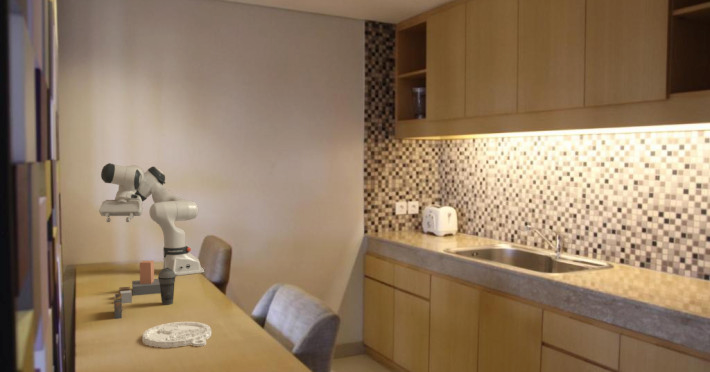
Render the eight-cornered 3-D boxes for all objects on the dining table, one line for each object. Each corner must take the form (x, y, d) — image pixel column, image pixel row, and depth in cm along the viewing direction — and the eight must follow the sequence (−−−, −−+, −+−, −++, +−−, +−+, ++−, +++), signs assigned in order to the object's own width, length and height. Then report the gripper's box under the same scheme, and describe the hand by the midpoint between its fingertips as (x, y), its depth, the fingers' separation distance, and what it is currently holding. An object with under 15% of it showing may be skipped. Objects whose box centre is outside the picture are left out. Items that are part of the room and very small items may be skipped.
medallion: (186, 323, 218) (186, 317, 218) (231, 338, 201) (231, 331, 201) (129, 339, 200) (129, 332, 200) (172, 356, 183) (172, 349, 183)
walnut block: (130, 296, 258) (129, 286, 258) (130, 298, 254) (130, 288, 254) (119, 297, 256) (119, 287, 256) (119, 299, 252) (119, 289, 252)
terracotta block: (143, 281, 270) (143, 260, 269) (154, 281, 270) (153, 260, 270) (140, 283, 265) (139, 262, 264) (151, 283, 265) (150, 262, 265)
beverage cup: (170, 306, 241) (169, 259, 240) (155, 305, 243) (154, 259, 242) (179, 301, 248) (178, 256, 247) (164, 300, 250) (163, 256, 249)
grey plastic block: (131, 300, 251) (131, 290, 251) (131, 302, 247) (131, 292, 247) (120, 301, 250) (120, 291, 249) (120, 303, 246) (120, 293, 245)
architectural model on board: (122, 319, 224) (122, 294, 224) (114, 319, 223) (114, 295, 223) (123, 311, 235) (122, 288, 234) (115, 312, 234) (114, 289, 233)
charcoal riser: (161, 286, 276) (160, 278, 276) (162, 292, 264) (162, 284, 264) (132, 289, 271) (132, 280, 271) (133, 295, 259) (132, 286, 259)
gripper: (101, 196, 285) (94, 217, 276) (142, 195, 287) (137, 217, 277) (105, 204, 290) (98, 225, 281) (145, 203, 291) (140, 225, 282)
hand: (117, 221), depth 279 cm, fingers open, 8 cm apart
